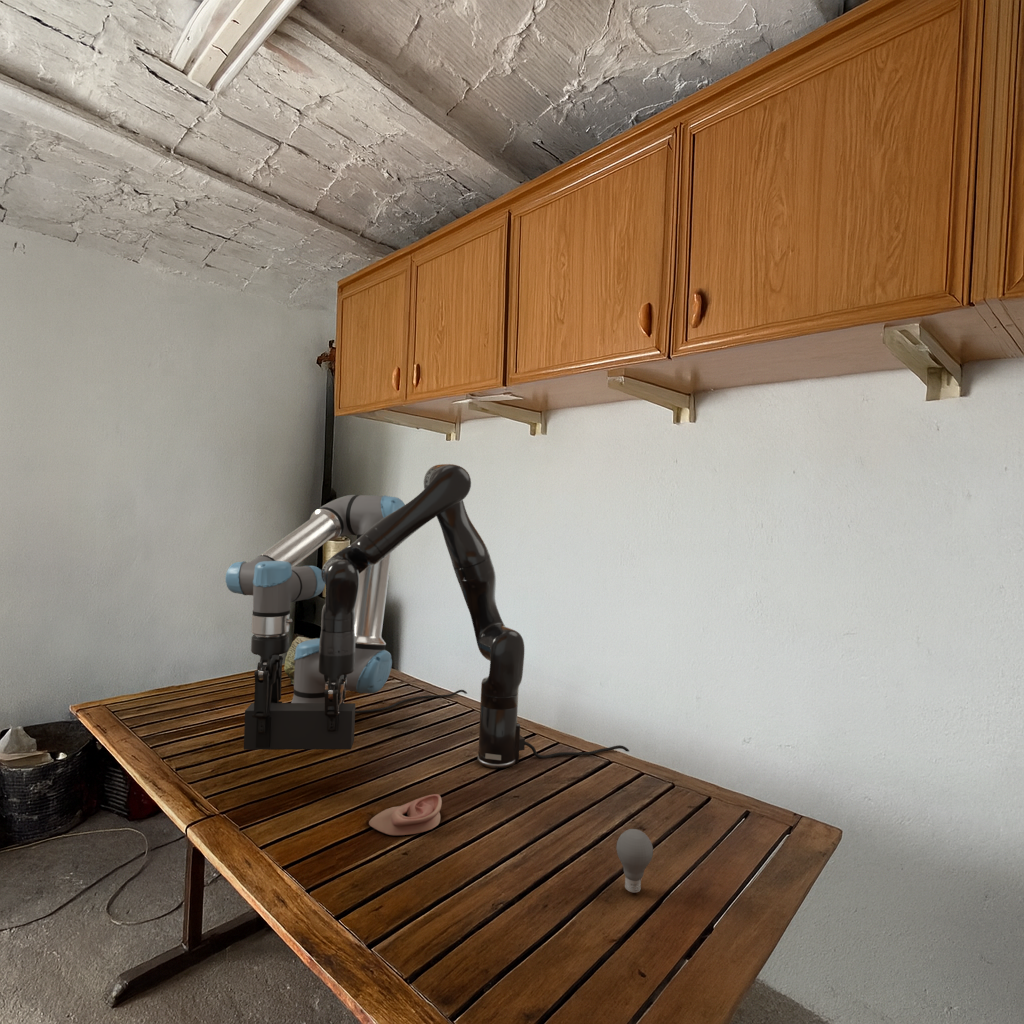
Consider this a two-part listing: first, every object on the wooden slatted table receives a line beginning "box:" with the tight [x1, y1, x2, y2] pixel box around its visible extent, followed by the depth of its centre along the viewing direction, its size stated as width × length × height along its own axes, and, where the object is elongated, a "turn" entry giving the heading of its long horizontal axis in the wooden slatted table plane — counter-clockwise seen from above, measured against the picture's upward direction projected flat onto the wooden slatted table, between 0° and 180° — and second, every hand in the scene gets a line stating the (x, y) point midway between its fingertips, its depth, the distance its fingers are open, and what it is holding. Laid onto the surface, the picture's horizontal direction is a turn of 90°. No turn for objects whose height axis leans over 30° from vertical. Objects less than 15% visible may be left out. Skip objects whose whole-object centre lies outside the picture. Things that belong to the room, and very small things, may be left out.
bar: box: [243, 702, 356, 751], centre depth 137 cm, size 22×5×8 cm, turn 96°
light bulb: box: [615, 828, 654, 894], centre depth 106 cm, size 6×6×10 cm
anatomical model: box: [368, 793, 443, 836], centre depth 125 cm, size 13×4×12 cm
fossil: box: [283, 636, 319, 685], centre depth 215 cm, size 9×18×15 cm, turn 132°
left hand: (266, 741), depth 136 cm, fingers closed on bar, 5 cm apart
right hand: (334, 727), depth 137 cm, fingers closed on bar, 5 cm apart
